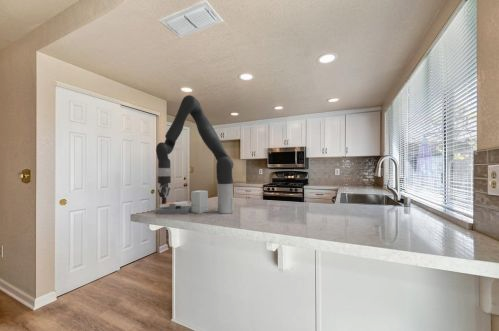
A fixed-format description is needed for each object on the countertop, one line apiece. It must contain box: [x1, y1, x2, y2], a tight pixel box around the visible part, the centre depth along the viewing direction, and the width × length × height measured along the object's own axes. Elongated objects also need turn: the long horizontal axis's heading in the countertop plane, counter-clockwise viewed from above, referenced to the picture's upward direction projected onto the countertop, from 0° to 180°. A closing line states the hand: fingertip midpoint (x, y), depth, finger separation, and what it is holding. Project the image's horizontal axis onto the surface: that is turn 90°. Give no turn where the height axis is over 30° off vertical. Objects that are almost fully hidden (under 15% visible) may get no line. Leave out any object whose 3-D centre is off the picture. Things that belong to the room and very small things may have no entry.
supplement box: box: [190, 189, 209, 214], centre depth 132 cm, size 7×7×13 cm
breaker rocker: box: [159, 200, 191, 208], centre depth 133 cm, size 16×8×1 cm, turn 89°
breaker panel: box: [155, 200, 191, 215], centre depth 133 cm, size 18×12×6 cm, turn 89°
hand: (164, 203), depth 133 cm, fingers closed
